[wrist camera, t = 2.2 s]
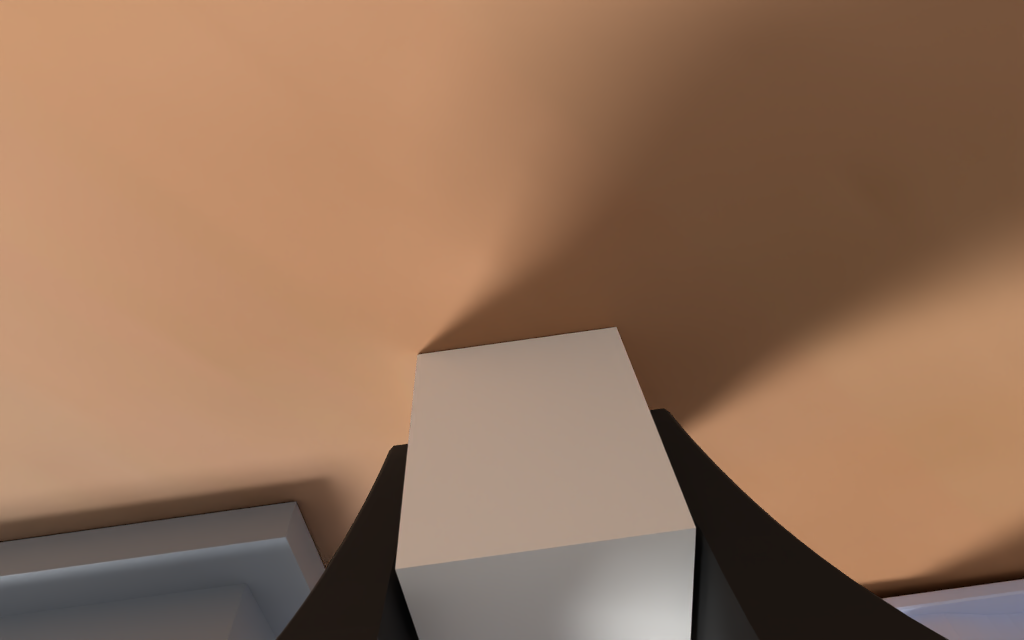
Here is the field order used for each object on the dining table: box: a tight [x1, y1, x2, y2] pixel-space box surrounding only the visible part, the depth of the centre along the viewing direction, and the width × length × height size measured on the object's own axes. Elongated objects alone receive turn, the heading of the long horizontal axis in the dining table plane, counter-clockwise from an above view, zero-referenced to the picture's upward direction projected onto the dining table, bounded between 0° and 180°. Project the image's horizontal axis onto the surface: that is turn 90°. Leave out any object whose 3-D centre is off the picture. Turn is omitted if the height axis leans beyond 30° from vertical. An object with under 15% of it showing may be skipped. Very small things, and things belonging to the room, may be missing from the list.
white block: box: [395, 327, 696, 640], centre depth 12 cm, size 4×4×5 cm
